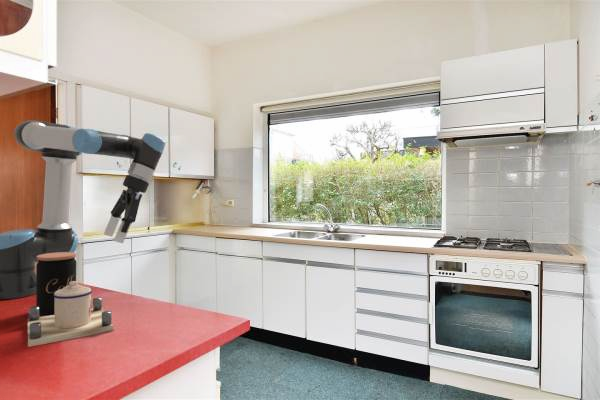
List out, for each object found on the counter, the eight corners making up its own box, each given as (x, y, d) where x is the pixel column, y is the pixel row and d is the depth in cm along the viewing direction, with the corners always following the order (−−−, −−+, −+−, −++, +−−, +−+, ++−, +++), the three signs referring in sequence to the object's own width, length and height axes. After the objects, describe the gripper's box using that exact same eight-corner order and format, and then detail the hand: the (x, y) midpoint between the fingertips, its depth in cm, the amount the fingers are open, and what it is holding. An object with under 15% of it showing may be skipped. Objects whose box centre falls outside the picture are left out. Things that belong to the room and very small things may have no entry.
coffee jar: (43, 318, 110) (43, 259, 109) (31, 311, 116) (31, 254, 116) (82, 310, 118) (82, 254, 118) (68, 303, 125) (68, 251, 124)
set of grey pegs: (29, 319, 105) (29, 307, 105) (101, 307, 116) (101, 296, 116) (29, 340, 90) (29, 326, 90) (112, 325, 101) (112, 312, 101)
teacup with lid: (98, 322, 104) (98, 281, 103) (62, 331, 96) (62, 287, 96) (77, 313, 110) (77, 275, 110) (42, 322, 103) (42, 281, 102)
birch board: (27, 324, 105) (27, 319, 105) (102, 312, 117) (102, 307, 117) (27, 347, 90) (28, 340, 90) (113, 330, 101) (113, 325, 101)
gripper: (161, 184, 116) (135, 248, 112) (138, 181, 135) (114, 236, 131) (138, 174, 111) (110, 241, 107) (117, 173, 130) (92, 229, 126)
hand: (112, 238), depth 119 cm, fingers open, 13 cm apart
